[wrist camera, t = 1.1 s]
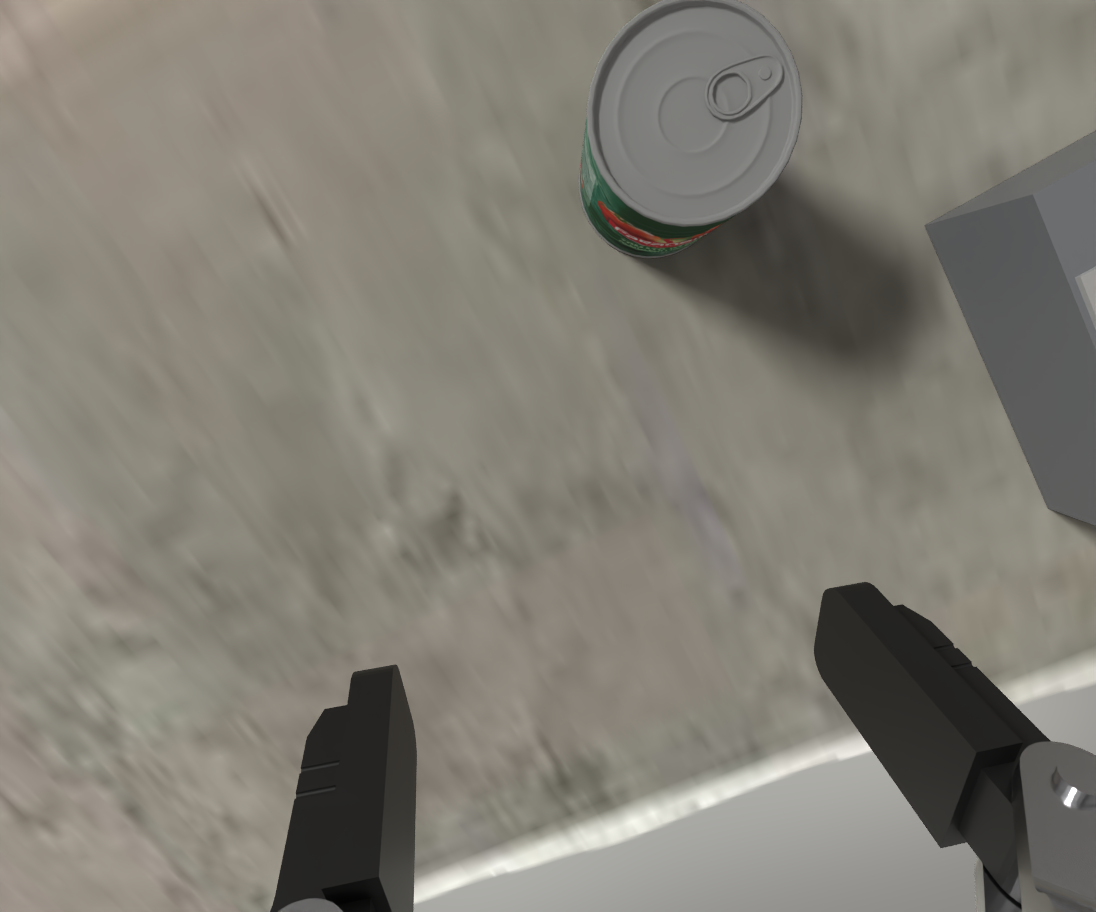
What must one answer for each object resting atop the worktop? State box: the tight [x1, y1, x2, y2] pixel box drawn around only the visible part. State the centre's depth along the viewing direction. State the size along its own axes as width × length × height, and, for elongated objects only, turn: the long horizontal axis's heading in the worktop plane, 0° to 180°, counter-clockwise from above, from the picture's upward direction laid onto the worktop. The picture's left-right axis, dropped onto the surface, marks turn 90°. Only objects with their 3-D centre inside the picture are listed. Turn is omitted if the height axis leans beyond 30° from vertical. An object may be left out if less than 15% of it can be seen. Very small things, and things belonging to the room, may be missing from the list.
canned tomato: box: [579, 0, 802, 258], centre depth 29 cm, size 8×8×11 cm
